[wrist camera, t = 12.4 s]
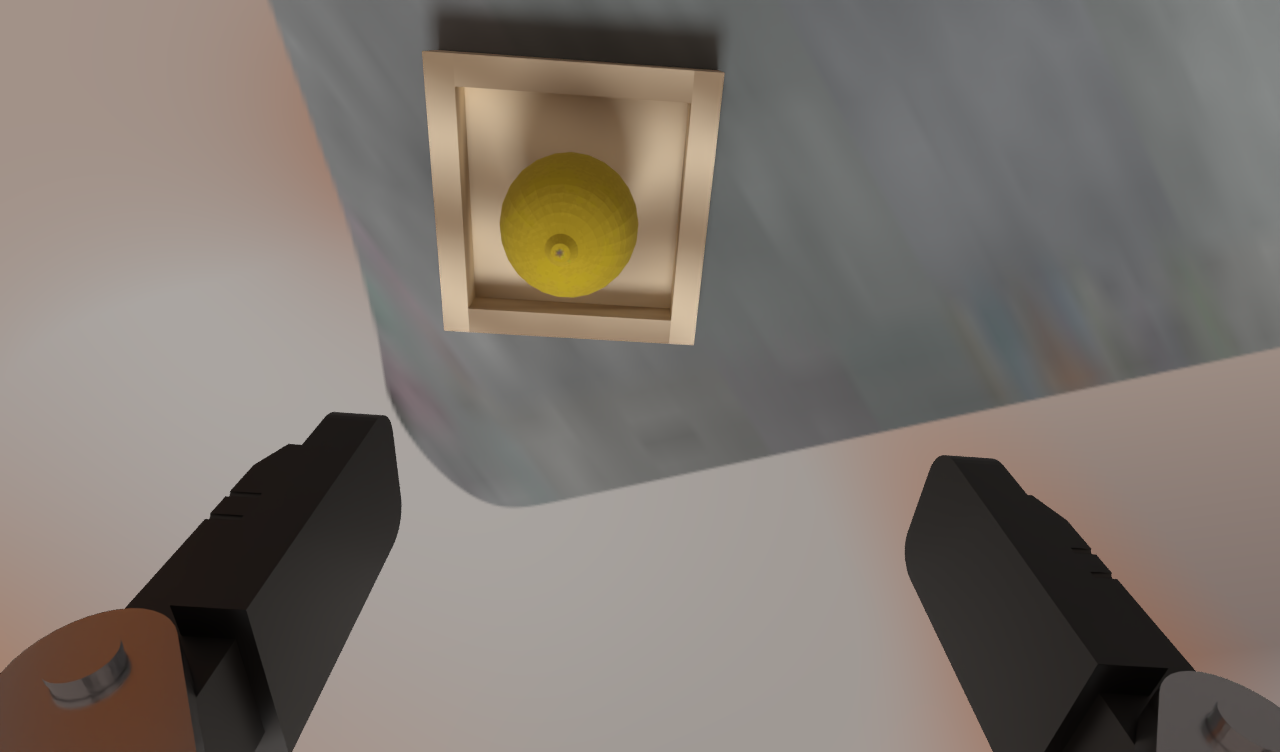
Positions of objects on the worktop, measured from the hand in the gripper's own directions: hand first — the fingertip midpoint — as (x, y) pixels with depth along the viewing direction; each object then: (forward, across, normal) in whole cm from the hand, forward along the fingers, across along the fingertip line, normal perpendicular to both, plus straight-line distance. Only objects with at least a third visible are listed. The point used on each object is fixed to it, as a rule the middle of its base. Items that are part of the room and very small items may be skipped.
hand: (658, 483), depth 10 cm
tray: (+23, +3, +1) cm, 23 cm away
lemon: (+22, +3, +1) cm, 23 cm away
